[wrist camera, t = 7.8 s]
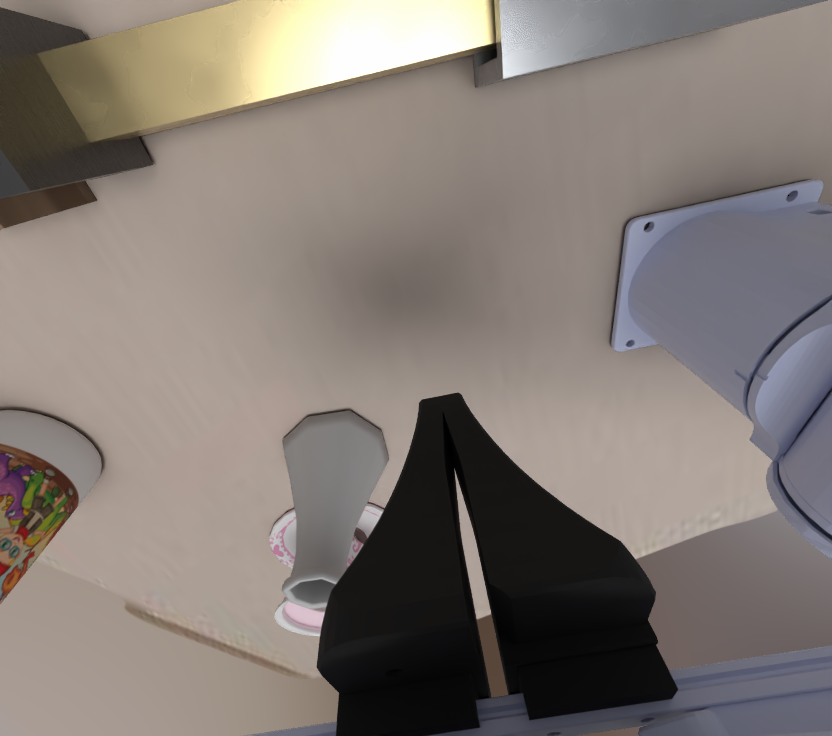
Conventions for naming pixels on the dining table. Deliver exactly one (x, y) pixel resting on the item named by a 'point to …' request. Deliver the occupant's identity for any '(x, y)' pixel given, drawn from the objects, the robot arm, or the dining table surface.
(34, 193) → the socket
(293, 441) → the flask
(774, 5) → the sleeve
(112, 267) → the dining table surface
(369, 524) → the teacup
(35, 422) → the milk bottle
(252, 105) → the grey-banded wooden bar
